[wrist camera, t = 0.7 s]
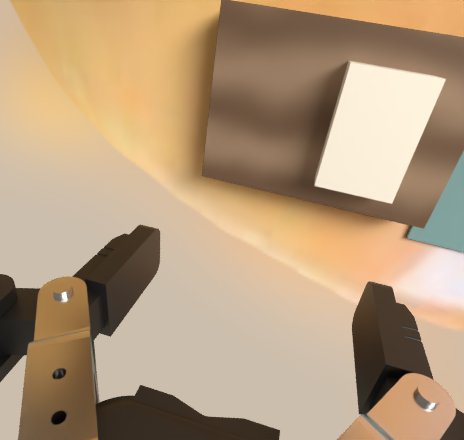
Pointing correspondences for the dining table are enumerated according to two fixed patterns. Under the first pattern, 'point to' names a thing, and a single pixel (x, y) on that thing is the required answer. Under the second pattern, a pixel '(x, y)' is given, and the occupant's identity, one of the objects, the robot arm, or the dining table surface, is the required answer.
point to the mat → (446, 215)
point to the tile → (375, 130)
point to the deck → (321, 104)
